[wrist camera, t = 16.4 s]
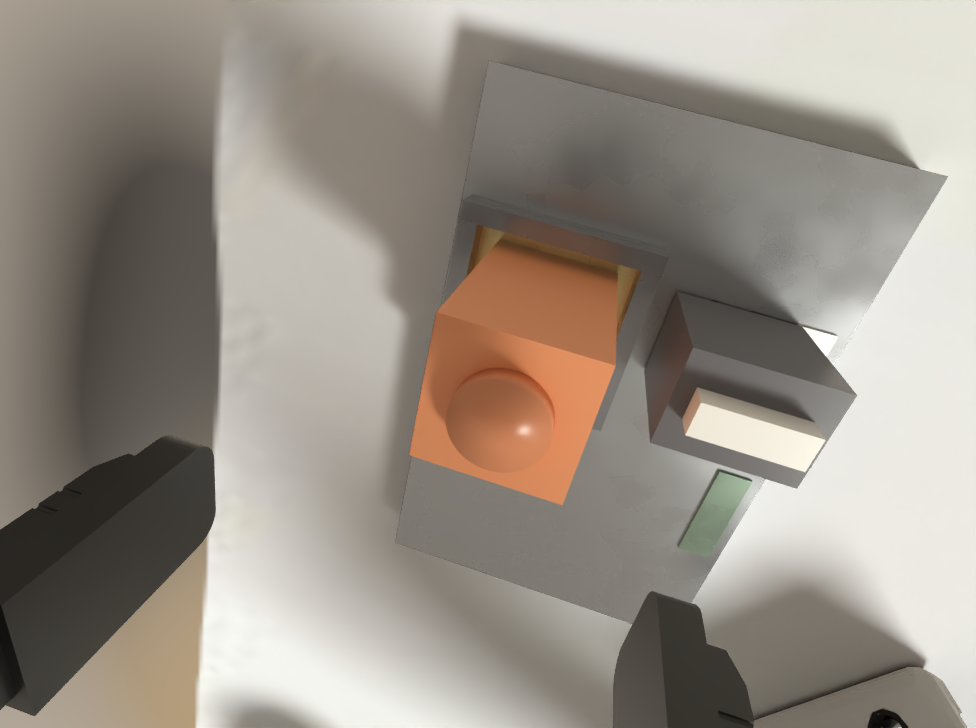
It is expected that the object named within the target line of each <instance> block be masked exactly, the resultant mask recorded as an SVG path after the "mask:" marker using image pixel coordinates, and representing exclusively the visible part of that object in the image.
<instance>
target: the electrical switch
mask: <svg viewBox="0 0 976 728" xmlns="http://www.w3.org/2000/svg"><path fill="white" fill-rule="evenodd" d="M960 713H962V712H961V710H960V708H959V707H958V705H957V704H956V702H955V700H954V699H953V697H952V696H951V694H950V692H949V691H948V689H947V687H946V686H945V684H944V683H943V681H942V680H940V679H939V678H938V677H936V676H935V675H933V674H932V673H930V672H928V671H926V670H924V669H923V668H921V667H906V668H903V669H900V670H897V671H894V672H892V673H889V674H886V675H883V676H880V677H877V678H874V679H871V680H869V681H866V682H863V683H860V684H857V685H854V686H851V687H848V688H846V689H843V690H840V691H837V692H834V693H831V694H828V695H825V696H823V697H820V698H817V699H814V700H811V701H808V702H805V703H802V704H800V705H797V706H794V707H791V708H788V709H785V710H782V711H779V712H777V713H774V714H771V715H768V716H765V717H762V718H759V719H756V720H754V726H753V728H898V727H902V728H967V726H966V725H965V723H964V722H963V720H962V718H961V716H960Z"/></svg>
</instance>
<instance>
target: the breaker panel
mask: <svg viewBox="0 0 976 728" xmlns="http://www.w3.org/2000/svg"><path fill="white" fill-rule="evenodd" d="M947 178H948V176H944V175H940V174H936V173H932V172H928V171H924V170H920V169H916V168H912V167H909V166H905V165H901V164H897V163H893V162H889V161H885V160H881V159H877V158H873V157H869V156H865V155H861V154H857V153H853V152H849V151H845V150H841V149H837V148H833V147H829V146H825V145H821V144H817V143H813V142H809V141H805V140H802V139H798V138H794V137H790V136H786V135H782V134H778V133H774V132H770V131H766V130H762V129H758V128H754V127H750V126H746V125H742V124H738V123H734V122H730V121H726V120H722V119H718V118H714V117H710V116H706V115H702V114H699V113H695V112H691V111H687V110H683V109H679V108H675V107H671V106H667V105H663V104H659V103H655V102H651V101H647V100H643V99H639V98H635V97H631V96H627V95H623V94H619V93H615V92H611V91H607V90H603V89H599V88H595V87H592V86H588V85H584V84H580V83H576V82H572V81H568V80H564V79H560V78H556V77H552V76H548V75H544V74H540V73H536V72H532V71H528V70H524V69H520V68H516V67H512V66H508V65H504V64H500V63H496V62H492V61H488V66H487V71H486V77H485V82H484V87H483V92H482V97H481V102H480V107H479V113H478V118H477V123H476V128H475V133H474V138H473V143H472V149H471V154H470V159H469V164H468V169H467V174H466V179H465V185H464V190H463V195H462V200H461V205H460V210H459V216H458V221H457V226H456V231H455V236H454V241H453V246H452V252H451V257H450V262H449V267H448V272H447V277H446V282H445V288H444V293H443V298H442V303H441V306H442V305H443V304H444V302H445V301H446V300H447V299H448V298H449V297H450V296H451V294H452V293H453V292H454V291H455V290H456V289H457V288H458V286H459V285H460V284H461V283H462V282H463V281H464V280H465V278H466V277H467V276H468V275H469V274H470V273H471V271H472V270H473V269H474V268H475V267H476V266H477V265H478V263H479V262H480V261H481V260H482V259H483V258H484V257H485V255H486V254H487V253H488V252H489V251H490V250H491V249H492V247H493V246H494V245H495V244H496V243H497V242H498V240H499V239H501V240H505V241H508V242H512V243H515V244H519V245H522V246H526V247H530V248H533V249H537V250H540V251H544V252H547V253H551V254H554V255H558V256H561V257H565V258H568V259H572V260H575V261H579V262H583V263H586V264H590V265H593V266H597V267H600V268H604V269H607V270H611V271H614V272H618V289H617V333H616V366H615V369H614V372H613V374H612V377H611V380H610V382H609V385H608V387H607V390H606V393H605V395H604V398H603V400H602V403H601V406H600V408H599V411H598V414H597V416H596V419H595V421H594V424H593V427H592V429H591V432H590V434H589V437H588V440H587V442H586V445H585V448H584V450H583V453H582V455H581V458H580V461H579V463H578V466H577V468H576V471H575V474H574V476H573V479H572V482H571V484H570V487H569V489H568V492H567V495H566V497H565V500H564V503H563V505H560V504H557V503H554V502H550V501H547V500H544V499H541V498H538V497H535V496H532V495H529V494H526V493H523V492H520V491H517V490H514V489H511V488H508V487H505V486H502V485H498V484H495V483H492V482H489V481H486V480H483V479H480V478H477V477H474V476H471V475H468V474H465V473H462V472H459V471H456V470H453V469H449V468H446V467H443V466H440V465H437V464H434V463H431V462H428V461H425V460H422V459H419V458H416V457H413V456H412V457H411V463H410V468H409V473H408V478H407V483H406V488H405V493H404V499H403V504H402V509H401V514H400V519H399V524H398V529H397V535H396V540H395V542H396V543H399V544H402V545H404V546H407V547H410V548H413V549H416V550H419V551H422V552H425V553H428V554H431V555H434V556H436V557H439V558H442V559H445V560H448V561H451V562H454V563H457V564H460V565H463V566H466V567H469V568H471V569H474V570H477V571H480V572H483V573H486V574H489V575H492V576H495V577H498V578H501V579H503V580H506V581H509V582H512V583H515V584H518V585H521V586H524V587H527V588H530V589H533V590H535V591H538V592H541V593H544V594H547V595H550V596H553V597H556V598H559V599H562V600H565V601H567V602H570V603H573V604H576V605H579V606H582V607H585V608H588V609H591V610H594V611H597V612H600V613H602V614H605V615H608V616H611V617H614V618H617V619H620V620H623V621H626V622H629V623H632V624H633V623H634V621H635V618H636V616H637V614H638V612H639V610H640V608H641V606H642V604H643V602H644V600H645V598H646V596H647V595H648V593H649V592H651V591H654V592H657V593H660V594H663V595H667V596H670V597H673V598H676V599H679V600H682V601H685V602H688V603H691V602H692V600H693V599H694V597H695V595H696V594H697V592H698V590H699V589H700V587H701V585H702V584H703V582H704V580H705V579H706V577H707V575H708V574H709V572H710V570H711V569H712V567H713V565H714V564H715V562H716V560H717V559H718V557H719V555H720V554H721V552H722V550H723V549H724V547H725V546H726V544H727V542H728V541H729V539H730V537H731V536H732V534H733V532H734V531H735V529H736V527H737V526H738V524H739V522H740V521H741V519H742V517H743V516H744V514H745V512H746V511H747V509H748V507H749V506H750V504H751V502H752V501H753V499H754V497H755V496H756V494H757V492H758V491H759V489H760V487H761V486H762V484H763V483H764V481H765V479H764V478H761V477H758V476H755V475H752V474H748V473H745V472H742V471H739V470H736V469H732V468H729V467H726V466H723V465H719V464H716V463H713V462H710V461H707V460H703V459H700V458H697V457H694V456H691V455H687V454H684V453H681V452H678V451H675V450H671V449H668V448H665V447H662V446H658V445H655V444H652V443H650V436H649V424H648V412H647V400H646V388H645V375H644V370H645V367H646V365H647V363H648V360H649V358H650V355H651V353H652V350H653V348H654V346H655V343H656V341H657V338H658V336H659V334H660V331H661V329H662V326H663V324H664V321H665V319H666V317H667V314H668V312H669V309H670V307H671V305H672V302H673V300H674V297H675V295H676V292H677V291H678V292H682V293H685V294H689V295H692V296H696V297H699V298H703V299H706V300H710V301H714V302H717V303H721V304H724V305H728V306H731V307H735V308H738V309H742V310H745V311H749V312H752V313H756V314H759V315H763V316H766V317H770V318H773V319H777V320H780V321H784V322H788V323H791V324H795V325H798V326H802V327H803V328H804V329H805V330H806V332H807V333H808V334H809V335H810V337H811V338H812V339H813V341H814V342H815V343H816V344H817V346H818V347H819V348H820V349H821V351H822V352H823V353H824V354H825V356H826V357H827V358H828V359H829V361H830V362H831V363H832V364H833V366H834V365H835V363H836V362H837V360H838V358H839V357H840V355H841V353H842V352H843V350H844V348H845V347H846V345H847V343H848V342H849V340H850V338H851V337H852V335H853V333H854V332H855V330H856V328H857V327H858V325H859V323H860V322H861V320H862V318H863V317H864V315H865V313H866V312H867V310H868V308H869V307H870V305H871V304H872V302H873V300H874V299H875V297H876V295H877V294H878V292H879V290H880V289H881V287H882V285H883V284H884V282H885V280H886V279H887V277H888V275H889V274H890V272H891V270H892V269H893V267H894V265H895V264H896V262H897V260H898V259H899V257H900V255H901V254H902V252H903V250H904V249H905V247H906V245H907V244H908V242H909V241H910V239H911V237H912V236H913V234H914V232H915V231H916V229H917V227H918V226H919V224H920V222H921V221H922V219H923V217H924V216H925V214H926V212H927V211H928V209H929V207H930V206H931V204H932V202H933V201H934V199H935V197H936V196H937V194H938V192H939V191H940V189H941V187H942V186H943V184H944V183H945V181H946V179H947Z"/></svg>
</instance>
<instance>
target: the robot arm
mask: <svg viewBox="0 0 976 728" xmlns="http://www.w3.org/2000/svg"><path fill="white" fill-rule="evenodd" d="M215 511H216V506H215V475H214V455H213V452H212V450H211V449H210V448H208V447H205V446H202V445H199V444H196V443H193V442H190V441H187V440H183V439H180V438H177V437H174V436H169V435H168V436H164V437H161V438H160V439H158V440H157V441H155V442H154V443H152V444H151V445H150V446H148V447H147V448H145V449H144V450H142V451H141V452H140V453H138V454H137V455H135V456H134V455H131V454H126V455H123V456H121V457H118V458H116V459H113V460H110V461H108V462H105V463H103V464H100V465H97V466H95V467H93V468H91V469H89V470H88V471H86V472H85V473H84V474H82V475H81V476H79V477H78V478H76V479H75V480H74V481H72V482H70V483H69V484H67V485H66V486H64V488H63V490H62V491H61V492H59V491H57V492H56V493H54V494H53V495H51V496H49V497H48V498H47V499H45V500H44V501H42V502H41V503H39V506H38V507H37V508H36V509H33V508H32V509H30V510H29V511H27V512H26V513H24V514H23V515H22V516H20V517H18V518H17V519H15V520H14V521H13V522H11V523H10V524H8V525H7V526H5V527H4V528H2V529H1V530H0V710H1V709H2V708H3V707H4V706H5V705H7V706H9V707H12V708H14V709H17V710H20V711H22V712H25V713H27V714H30V715H33V716H35V715H36V714H37V713H38V712H39V711H40V710H41V709H42V708H43V707H44V706H45V705H46V704H47V703H48V702H49V701H50V699H52V697H54V696H55V695H56V693H57V692H58V691H59V690H60V689H61V688H62V687H63V686H64V685H65V684H66V683H67V682H68V681H69V680H70V679H71V678H72V677H73V676H74V675H75V674H76V673H77V671H79V670H80V669H81V668H82V667H83V666H84V664H85V663H86V662H87V661H88V660H89V659H90V658H91V657H92V656H93V655H94V654H95V653H96V652H97V651H98V650H99V649H100V648H101V647H102V646H103V645H104V644H105V643H106V642H107V641H108V640H109V639H110V638H111V636H112V635H113V634H114V633H115V632H116V631H117V630H118V629H119V628H120V627H121V626H122V625H123V624H124V623H125V622H126V621H127V620H128V619H129V618H130V617H131V616H132V615H133V614H134V613H135V612H136V610H137V609H139V607H141V605H142V604H143V603H144V602H145V601H146V600H147V599H148V598H149V597H150V596H151V595H152V594H153V593H154V592H155V591H156V590H157V589H158V588H159V587H160V586H161V585H162V584H163V583H164V582H165V581H166V580H167V579H168V577H169V576H170V575H171V574H172V573H173V572H174V571H175V570H176V569H177V568H178V567H179V566H180V565H181V564H182V563H183V562H184V561H185V560H186V559H187V558H188V557H189V556H190V555H191V553H193V551H195V550H196V549H197V547H198V546H199V545H200V544H201V543H202V542H203V540H204V539H205V538H206V536H207V534H208V533H209V531H210V529H211V526H212V524H213V521H214V517H215ZM753 726H754V719H753V714H752V710H751V705H750V701H749V696H748V692H747V688H746V685H745V683H744V681H743V679H742V678H741V676H740V674H739V672H738V671H737V669H736V667H735V665H734V664H733V662H732V660H731V658H730V657H729V655H728V653H727V651H726V650H723V649H720V648H717V647H714V646H711V645H708V644H707V643H706V637H705V631H704V625H703V619H702V614H701V611H700V609H699V607H698V606H697V605H695V604H692V603H688V602H685V601H682V600H679V599H676V598H673V597H670V596H667V595H663V594H660V593H657V592H654V591H651V592H649V593H648V595H647V596H646V598H645V600H644V602H643V604H642V606H641V608H640V610H639V612H638V614H637V616H636V618H635V621H634V623H633V625H632V627H631V629H630V631H629V633H628V635H627V637H626V639H625V641H624V643H623V645H622V647H621V650H620V653H619V656H618V660H617V664H616V669H615V675H614V687H613V728H753Z"/></svg>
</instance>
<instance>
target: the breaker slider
mask: <svg viewBox="0 0 976 728" xmlns="http://www.w3.org/2000/svg"><path fill="white" fill-rule="evenodd" d="M644 375H645V388H646V400H647V412H648V424H649V436H650V443H652V444H655V445H658V446H662V447H665V448H668V449H671V450H675V451H678V452H681V453H684V454H687V455H691V456H694V457H697V458H700V459H703V460H707V461H710V462H713V463H716V464H719V465H723V466H726V467H729V468H732V469H736V470H739V471H742V472H745V473H748V474H752V475H755V476H758V477H761V478H764V479H768V480H771V481H774V482H777V483H781V484H784V485H787V486H790V487H793V488H798V486H799V485H800V483H801V481H802V480H803V478H804V477H805V475H806V474H807V472H808V471H809V469H810V468H811V466H812V464H813V463H814V461H815V460H816V458H817V457H818V455H819V454H820V452H821V450H822V449H823V447H824V446H825V444H826V443H827V441H828V440H829V438H830V437H831V435H832V433H833V432H834V430H835V429H836V427H837V426H838V424H839V423H840V421H841V420H842V418H843V416H844V415H845V413H846V412H847V410H848V409H849V407H850V406H851V404H852V402H853V401H854V399H855V398H856V396H857V395H856V393H855V392H854V391H853V390H852V388H851V387H850V386H849V385H848V383H847V382H846V381H845V380H844V378H843V377H842V376H841V375H840V373H839V372H838V371H837V370H836V368H835V367H834V366H833V364H832V363H831V362H830V361H829V359H828V358H827V357H826V356H825V354H824V353H823V352H822V351H821V349H820V348H819V347H818V346H817V344H816V343H815V342H814V341H813V339H812V338H811V337H810V335H809V334H808V333H807V332H806V330H805V329H804V328H803V327H802V326H798V325H795V324H791V323H788V322H784V321H780V320H777V319H773V318H770V317H766V316H763V315H759V314H756V313H752V312H749V311H745V310H742V309H738V308H735V307H731V306H728V305H724V304H721V303H717V302H714V301H710V300H706V299H703V298H699V297H696V296H692V295H689V294H685V293H682V292H678V291H677V292H676V295H675V297H674V300H673V302H672V305H671V307H670V309H669V312H668V314H667V317H666V319H665V321H664V324H663V326H662V329H661V331H660V334H659V336H658V338H657V341H656V343H655V346H654V348H653V350H652V353H651V355H650V358H649V360H648V363H647V365H646V367H645V370H644Z"/></svg>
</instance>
